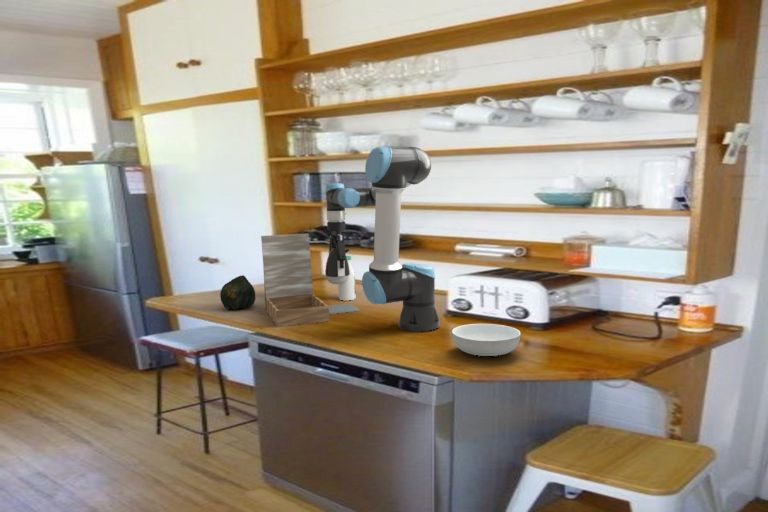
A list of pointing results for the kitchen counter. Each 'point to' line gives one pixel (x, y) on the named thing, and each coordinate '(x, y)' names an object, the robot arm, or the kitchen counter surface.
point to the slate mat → (342, 308)
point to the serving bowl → (486, 339)
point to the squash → (237, 293)
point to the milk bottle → (348, 285)
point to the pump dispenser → (336, 268)
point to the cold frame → (290, 281)
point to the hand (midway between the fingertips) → (337, 274)
